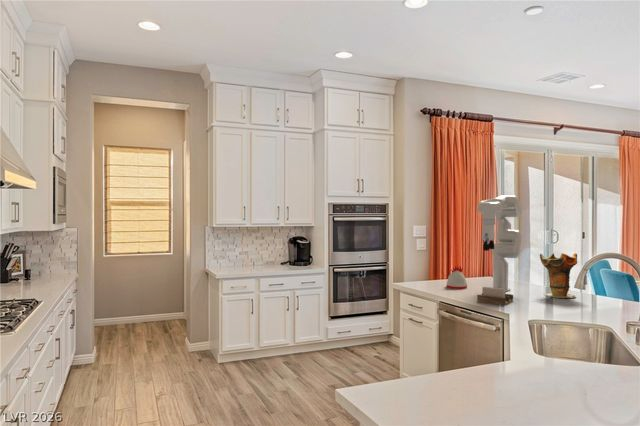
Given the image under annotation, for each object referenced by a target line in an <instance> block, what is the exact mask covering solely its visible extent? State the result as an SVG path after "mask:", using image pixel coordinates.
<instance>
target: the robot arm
mask: <svg viewBox="0 0 640 426" xmlns="http://www.w3.org/2000/svg"><path fill="white" fill-rule="evenodd" d="M477 211H478V213H479V214H481V215H482V219H481V220H482V222H481V223H482V231H481V240H482V241H483V242H482V243H483V247H482V248H483V251H484V252H485V251H487V252H488V251H490V250H491V252H492V253H491V254H492V286H491V287H492V288H501V289H505V292H510V291H511V288H510V287H509V262H508V261H507V260H506V258H507V259H517V258H519V256H520V253H521V245H522V238H523V237H522V232H521V231H520V230H519V229H512V224H511V222H510V221H509V219H507V218H518V217H521V215H522V212H523V211H522V205H521V203H520V200H519V198H518V197H517V196H516V195H512V194H511V195H498V196H497V197H495V198H494V197H493V198H490V199H485V200H481V201H479V203H478V205H477ZM496 221H497V230H496V231H495V225H496ZM495 233H496V237H495ZM495 239H496V242H497V243H495Z"/></svg>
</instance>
